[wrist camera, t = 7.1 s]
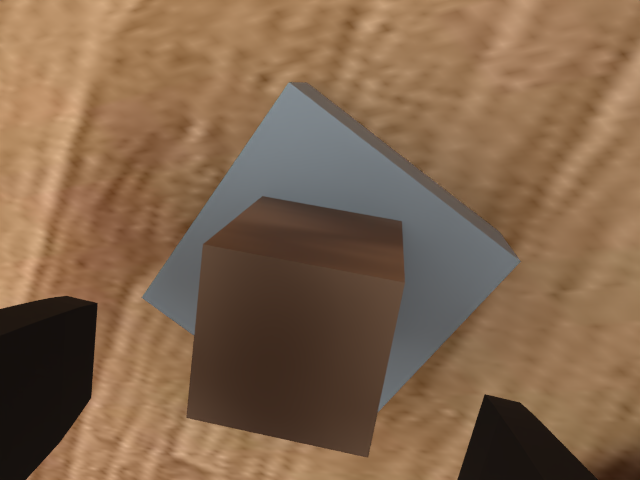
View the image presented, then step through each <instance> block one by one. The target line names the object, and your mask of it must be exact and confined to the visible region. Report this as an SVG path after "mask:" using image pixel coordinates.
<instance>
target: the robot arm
mask: <svg viewBox="0 0 640 480" xmlns="http://www.w3.org/2000/svg"><path fill="white" fill-rule="evenodd" d="M97 304H98V303H94V302H90V301H86V300H82V299H77V298H73V297H69V296H63V297H54V298H48V299H43V300H38V301H33V302H29V303H24V304H20V305H15V306H11V307H7V308H3V309H0V480H26V479H27V478H28V477H29V476H30V474H31V473H32V472H33V471H34V470H35V469H36V468H37V467H38V466H39V465H40V464H41V462H42V461H43V460H44V459H45V458H46V457H47V456H48V455H49V454H50V453H51V451H52V450H53V449H54V448H55V447H56V446H57V445H58V444H59V443H60V441H61V440H62V438H63V437H64V436H65V434H66V433H67V432H68V430H69V429H70V428H71V426H72V425H73V423H74V422H75V421H76V419H77V418H78V416H79V415H80V413H81V412H82V410H83V409H84V407H85V406H86V405H87V403H88V402H89V400H90V399H91V392H92V377H93V362H94V348H95V333H96V318H97ZM458 480H598V479H597V478H596V477H595V476H594V475H593V474H592V473H591V472H590V471H589V470H588V469H587V468H586V467H585V466H584V465H583V464H582V463H581V462H580V461H579V460H578V459H577V458H576V457H575V456H574V455H573V454H572V453H571V452H570V451H569V450H568V449H567V448H566V447H565V446H564V445H563V444H562V443H561V442H560V441H559V440H558V439H557V438H556V437H555V436H554V435H553V434H552V433H551V432H550V431H549V430H548V429H547V428H546V427H545V426H544V425H543V424H542V423H541V422H540V421H539V420H538V419H537V418H536V417H535V416H534V415H533V414H532V413H531V412H530V411H529V410H528V409H527V408H526V407H524V406H523V405H522V404H521V403H520V402H515V401H511V400H507V399H503V398H498V397H494V396H490V395H486V394H485V395H484V398H483V402H482V405H481V408H480V411H479V414H478V417H477V420H476V423H475V427H474V430H473V433H472V436H471V439H470V442H469V445H468V449H467V452H466V455H465V458H464V461H463V464H462V467H461V470H460V474H459V477H458Z"/></svg>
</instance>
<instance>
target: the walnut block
mask: <svg viewBox="0 0 640 480" xmlns="http://www.w3.org/2000/svg"><path fill="white" fill-rule="evenodd" d="M404 285H405V273H404V253H403V234H402V221H398V220H393V219H387V218H382V217H376V216H370V215H365V214H359V213H354V212H348V211H343V210H337V209H332V208H326V207H320V206H315V205H309V204H304V203H298V202H293V201H287V200H282V199H276V198H270V197H265V196H262V197H261V198H259V199H258V200H257V201H256V202H255V203H253V204H252V205H251V206H250V207H248V208H247V209H246V210H245V211H243V212H242V213H241V214H240V215H238V216H237V217H236V218H235V219H234V220H232V221H231V222H230V223H229V224H227V225H226V226H225V227H224V228H222V229H221V230H220V231H219V232H217V233H216V234H215V235H214V236H212V237H211V238H210V239H209V240H208V241H206V242H205V243H204V244H203V248H202V258H201V269H200V280H199V290H198V301H197V312H196V322H195V333H194V344H193V354H192V365H191V376H190V387H189V397H188V408H187V418H190V419H194V420H199V421H203V422H208V423H213V424H217V425H222V426H226V427H231V428H235V429H240V430H245V431H249V432H254V433H258V434H263V435H267V436H272V437H277V438H281V439H286V440H290V441H295V442H299V443H304V444H309V445H313V446H318V447H322V448H327V449H331V450H336V451H341V452H345V453H350V454H354V455H359V456H363V457H368V455H369V450H370V446H371V441H372V436H373V432H374V427H375V422H376V417H377V413H378V408H379V403H380V398H381V394H382V389H383V384H384V380H385V375H386V370H387V365H388V361H389V356H390V351H391V346H392V342H393V337H394V332H395V328H396V323H397V318H398V313H399V309H400V304H401V299H402V295H403V290H404Z"/></svg>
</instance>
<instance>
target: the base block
mask: <svg viewBox="0 0 640 480" xmlns="http://www.w3.org/2000/svg"><path fill="white" fill-rule="evenodd" d="M262 196H265V197H270V198H276V199H282V200H287V201H293V202H298V203H304V204H309V205H315V206H320V207H326V208H332V209H337V210H343V211H348V212H354V213H359V214H365V215H370V216H376V217H382V218H387V219H393V220H398V221H402V234H403V253H404V273H405V285H404V290H403V295H402V299H401V304H400V309H399V313H398V318H397V323H396V328H395V332H394V337H393V342H392V346H391V351H390V356H389V361H388V365H387V370H386V375H385V380H384V384H383V389H382V394H381V398H380V403H379V408H378V412H379V410H380V409H381V408H382V407H383V406H384V405H385V404H386V403H387V402H388V401H389V400H390V399H391V398H392V397H393V396H394V395H395V394H396V393H397V391H398V390H399V389H400V388H401V387H402V386H403V385H404V384H405V383H406V382H407V381H408V380H409V379H410V378H411V377H412V376H413V375H414V374H415V372H416V371H417V370H418V369H419V368H420V367H421V366H422V365H423V364H424V363H425V362H426V361H427V360H428V359H429V358H430V357H431V356H432V355H433V353H434V352H435V351H436V350H437V349H438V348H439V347H440V346H441V345H442V344H443V343H444V342H445V341H446V340H447V339H448V338H449V337H450V336H451V334H452V333H453V332H454V331H455V330H456V329H457V328H458V327H459V326H460V325H461V324H462V323H463V322H464V321H465V320H466V319H467V318H468V317H469V315H470V314H471V313H472V312H473V311H474V310H475V309H476V308H477V307H478V306H479V305H480V304H481V303H482V302H483V301H484V300H485V299H486V298H487V296H488V295H489V294H490V293H491V292H492V291H493V290H494V289H495V288H496V287H497V286H498V285H499V284H500V283H501V282H502V281H503V280H504V279H505V278H506V276H507V275H508V274H509V273H510V272H511V271H512V270H513V269H514V268H515V267H516V266H517V265H518V264H519V263H520V262H521V261H520V260H519V258H518V257H517V256H516V254H515V253H514V251H513V250H512V249H511V247H510V246H509V244H508V243H507V242H506V240H505V239H504V237H503V236H502V235H501V233H500V232H499V231H498V230H496V229H495V228H494V227H492V226H491V225H490V224H489V223H487V222H486V221H485V220H483V219H482V218H481V217H480V216H478V215H477V214H476V213H474V212H473V211H472V210H471V209H469V208H468V207H467V206H465V205H464V204H463V203H461V202H460V201H459V200H458V199H456V198H455V197H454V196H452V195H451V194H450V193H449V192H447V191H446V190H445V189H443V188H442V187H441V186H440V185H438V184H437V183H436V182H434V181H433V180H432V179H431V178H429V177H428V176H427V175H425V174H424V173H423V172H422V171H420V170H419V169H418V168H416V167H415V166H414V165H413V164H411V163H410V162H409V161H407V160H406V159H405V158H403V157H402V156H401V155H400V154H398V153H397V152H396V151H394V150H393V149H392V148H391V147H389V146H388V145H387V144H385V143H384V142H383V141H382V140H380V139H379V138H378V137H376V136H375V135H374V134H373V133H371V132H370V131H369V130H367V129H366V128H365V127H364V126H362V125H361V124H360V123H358V122H357V121H356V120H355V119H353V118H352V117H351V116H349V115H348V114H347V113H346V112H344V111H343V110H342V109H340V108H339V107H338V106H336V105H335V104H334V103H333V102H331V101H330V100H329V99H327V98H326V97H325V96H324V95H322V94H321V93H320V92H318V91H317V90H316V89H315V88H313V87H312V86H311V85H309V84H308V83H301V82H289V83H288V84H287V86H286V87H285V89H284V90H283V92H282V93H281V95H280V96H279V98H278V99H277V101H276V102H275V103H274V105H273V106H272V108H271V109H270V111H269V112H268V114H267V115H266V117H265V118H264V120H263V121H262V122H261V124H260V125H259V127H258V128H257V130H256V131H255V133H254V134H253V136H252V137H251V139H250V140H249V141H248V143H247V144H246V146H245V147H244V149H243V150H242V152H241V153H240V155H239V156H238V158H237V159H236V160H235V162H234V163H233V165H232V166H231V168H230V169H229V171H228V172H227V174H226V175H225V177H224V178H223V180H222V181H221V182H220V184H219V185H218V187H217V188H216V190H215V191H214V193H213V194H212V196H211V197H210V199H209V200H208V201H207V203H206V204H205V206H204V207H203V209H202V210H201V212H200V213H199V215H198V216H197V218H196V219H195V220H194V222H193V223H192V225H191V226H190V228H189V229H188V231H187V232H186V234H185V235H184V237H183V238H182V239H181V241H180V242H179V244H178V245H177V247H176V248H175V250H174V251H173V253H172V254H171V256H170V257H169V259H168V260H167V261H166V263H165V264H164V266H163V267H162V269H161V270H160V272H159V273H158V275H157V276H156V278H155V279H154V280H153V282H152V283H151V285H150V286H149V288H148V289H147V291H146V292H145V294H144V295H143V297H142V298H143V299H144V300H146V301H147V302H149V303H150V304H151V305H153V306H154V307H155V308H157V309H158V310H160V311H161V312H162V313H164V314H165V315H166V316H168V317H169V318H171V319H172V320H173V321H175V322H176V323H177V324H179V325H180V326H182V327H183V328H184V329H186V330H187V331H188V332H190V333H191V334H193V335H194V333H195V322H196V312H197V301H198V290H199V280H200V269H201V258H202V248H203V244H204V243H205V242H206V241H208V240H209V239H210V238H211V237H212V236H214V235H215V234H216V233H217V232H219V231H220V230H221V229H222V228H224V227H225V226H226V225H227V224H229V223H230V222H231V221H232V220H234V219H235V218H236V217H237V216H238V215H240V214H241V213H242V212H243V211H245V210H246V209H247V208H248V207H250V206H251V205H252V204H253V203H255V202H256V201H257V200H258V199H259V198H261V197H262Z"/></svg>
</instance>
